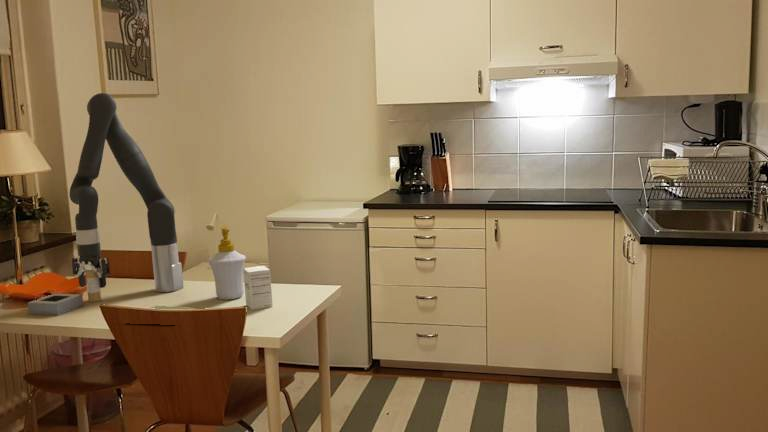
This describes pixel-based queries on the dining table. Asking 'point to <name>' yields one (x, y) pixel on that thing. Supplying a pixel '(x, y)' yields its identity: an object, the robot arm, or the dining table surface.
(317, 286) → the dining table surface
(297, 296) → the dining table surface
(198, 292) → the dining table surface
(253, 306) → the supplement box
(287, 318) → the dining table surface
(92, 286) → the sprinkles bottle
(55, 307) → the shallow gray tray
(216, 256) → the soap bottle
